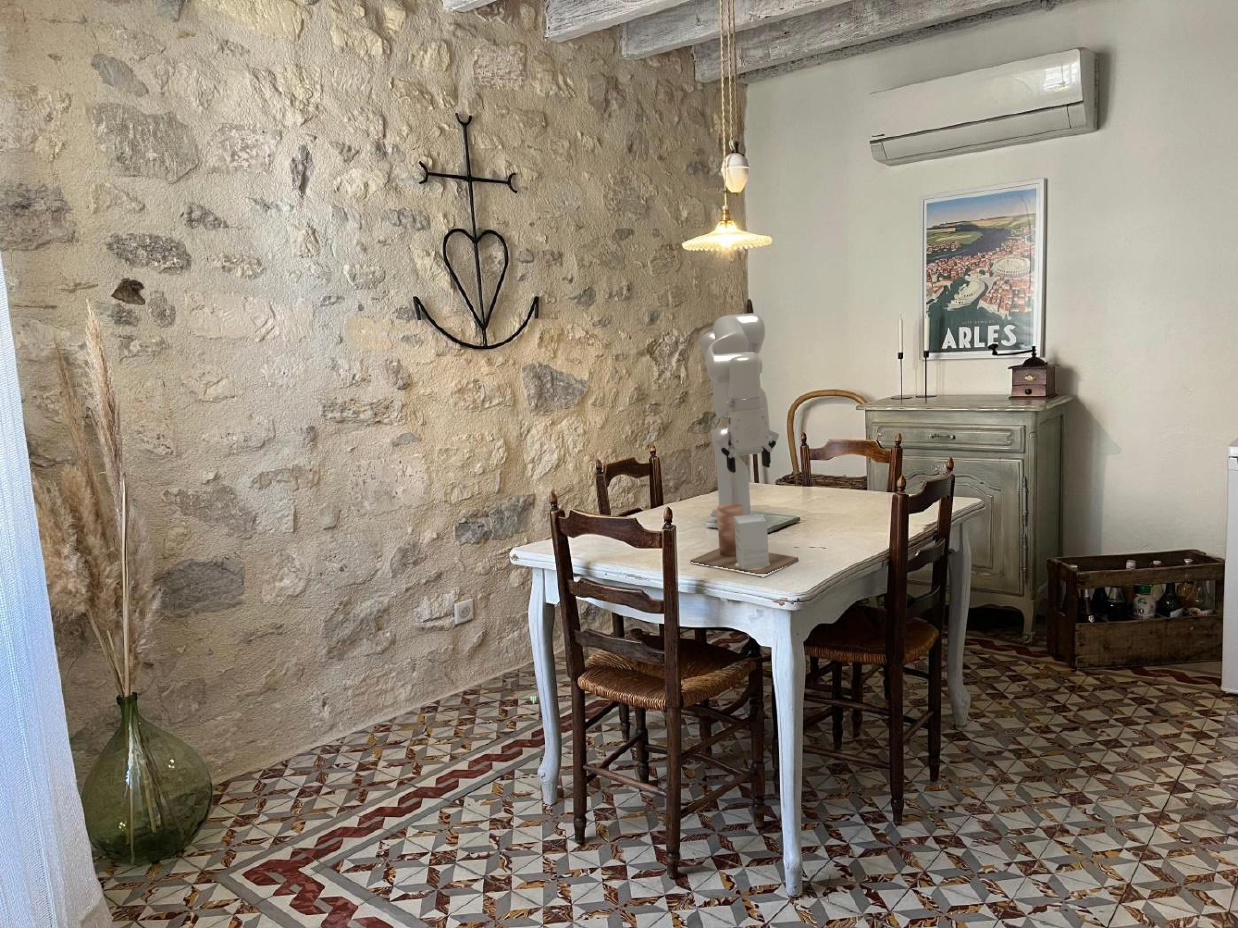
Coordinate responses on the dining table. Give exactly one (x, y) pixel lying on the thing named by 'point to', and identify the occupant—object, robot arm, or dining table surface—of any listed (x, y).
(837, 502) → the dining table surface
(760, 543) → the supplement box
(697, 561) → the board
